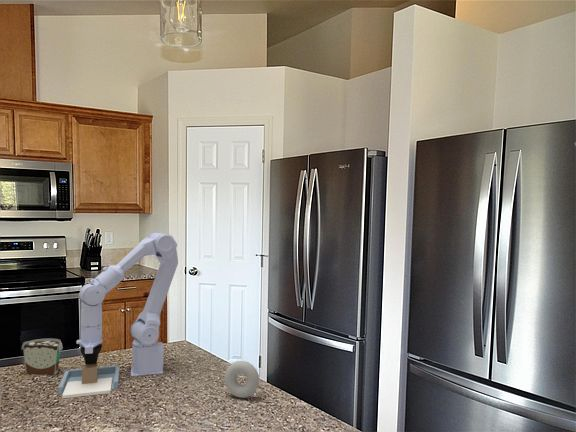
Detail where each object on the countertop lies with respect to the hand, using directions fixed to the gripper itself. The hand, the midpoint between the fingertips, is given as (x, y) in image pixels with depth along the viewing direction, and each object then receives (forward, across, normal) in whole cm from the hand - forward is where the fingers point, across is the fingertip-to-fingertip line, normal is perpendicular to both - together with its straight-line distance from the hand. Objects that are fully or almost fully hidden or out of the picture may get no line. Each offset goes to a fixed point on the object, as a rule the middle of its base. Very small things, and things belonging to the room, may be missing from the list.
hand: (91, 370), depth 134 cm
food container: (+4, -12, -14) cm, 19 cm away
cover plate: (+3, +6, 0) cm, 7 cm away
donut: (+4, +23, +40) cm, 47 cm away
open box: (+3, +1, 0) cm, 4 cm away
